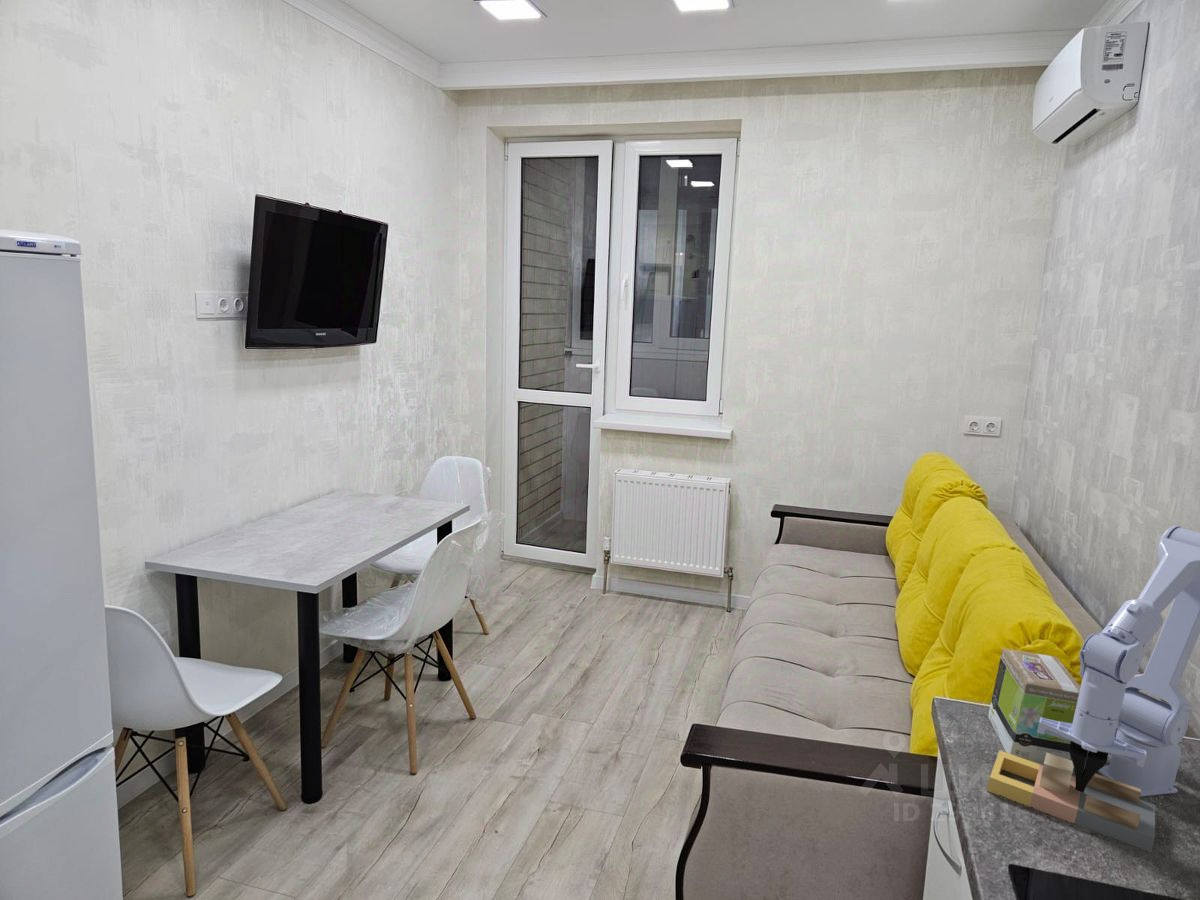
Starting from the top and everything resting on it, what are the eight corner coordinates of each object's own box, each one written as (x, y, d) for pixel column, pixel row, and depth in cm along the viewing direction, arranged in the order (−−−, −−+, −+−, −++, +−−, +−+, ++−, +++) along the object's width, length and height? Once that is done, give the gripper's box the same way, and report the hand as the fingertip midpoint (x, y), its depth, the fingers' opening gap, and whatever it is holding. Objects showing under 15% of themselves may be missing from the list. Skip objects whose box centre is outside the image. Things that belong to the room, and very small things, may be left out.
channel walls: (1138, 800, 129) (1141, 789, 129) (1137, 829, 122) (1140, 817, 121) (1087, 782, 133) (1090, 771, 132) (1083, 809, 125) (1086, 798, 125)
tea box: (1070, 771, 140) (1088, 693, 137) (1008, 760, 142) (1024, 683, 139) (1042, 726, 154) (1058, 654, 151) (986, 716, 156) (1000, 645, 153)
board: (1151, 818, 129) (1155, 804, 128) (1151, 852, 120) (1155, 837, 120) (996, 763, 141) (999, 750, 140) (987, 790, 132) (989, 777, 132)
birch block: (1069, 783, 132) (1074, 761, 131) (1067, 795, 129) (1072, 773, 128) (1041, 774, 134) (1046, 752, 133) (1039, 785, 131) (1043, 763, 130)
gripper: (1042, 704, 127) (1025, 781, 130) (1153, 738, 119) (1132, 820, 122) (1047, 687, 133) (1031, 761, 136) (1153, 719, 125) (1133, 797, 128)
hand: (1079, 788), depth 129 cm, fingers closed
